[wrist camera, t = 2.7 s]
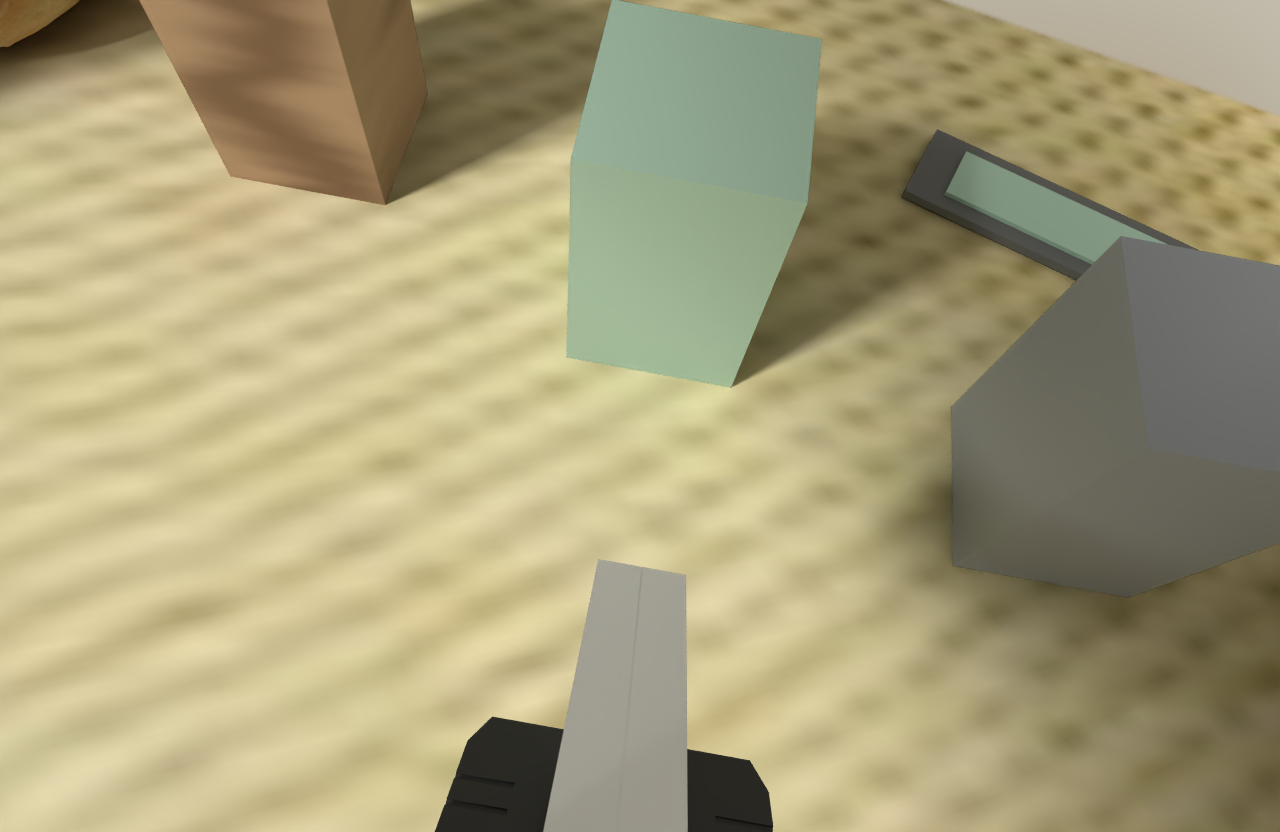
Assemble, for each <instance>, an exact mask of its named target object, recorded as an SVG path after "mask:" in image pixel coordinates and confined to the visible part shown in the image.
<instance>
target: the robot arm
mask: <svg viewBox="0 0 1280 832" xmlns="http://www.w3.org/2000/svg"><path fill="white" fill-rule="evenodd" d="M435 832H773V821H772V814H771V806H770V798H769V792H768V790H767V788H766V787H765V785H764V783H763V782H762V780H761V778H760V777H759V775H758V773H757V772H756V770H755V768H754V767H753V765H752V763H751V762H750V760H745V759H739V758H733V757H728V756H722V755H717V754H711V753H706V752H700V751H695V750H689V749H687V660H686V575H683V574H677V573H672V572H666V571H661V570H655V569H650V568H644V567H639V566H633V565H628V564H622V563H617V562H611V561H606V560H600V559H598V564H597V569H596V574H595V579H594V583H593V588H592V593H591V598H590V603H589V608H588V613H587V618H586V623H585V628H584V633H583V638H582V643H581V648H580V653H579V657H578V662H577V667H576V672H575V677H574V682H573V687H572V692H571V697H570V702H569V707H568V712H567V717H566V722H565V727H564V729H558V728H552V727H547V726H541V725H536V724H530V723H525V722H519V721H514V720H508V719H502V718H497V717H492V718H491V719H489V720H488V721H487V722H486V723H485V724H484V725H483V726H482V727H481V728H480V729H479V730H478V731H477V732H476V733H475V734H474V735H473V736H472V737H471V738H470V739H469V740H468V741H467V744H466V747H465V749H464V752H463V755H462V758H461V760H460V763H459V766H458V769H457V772H456V776H455V778H454V780H453V783H452V786H451V788H450V791H449V794H448V797H447V801H446V804H445V805H444V808H443V811H442V813H441V816H440V819H439V822H438V824H437V827H436V830H435Z"/></svg>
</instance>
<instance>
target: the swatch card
mask: <svg viewBox="0 0 1280 832" xmlns="http://www.w3.org/2000/svg"><path fill="white" fill-rule="evenodd" d="M901 197H903V198H905V199H907V200H909V201H911V202H913V203H916V204H918V205H920V206H922V207H924V208H926V209H928V210H930V211H932V212H934V213H936V214H939V215H941V216H943V217H945V218H947V219H949V220H951V221H953V222H955V223H957V224H960V225H962V226H964V227H966V228H968V229H970V230H972V231H974V232H976V233H978V234H981V235H983V236H985V237H987V238H989V239H991V240H993V241H995V242H997V243H999V244H1002V245H1004V246H1006V247H1008V248H1010V249H1012V250H1014V251H1016V252H1018V253H1020V254H1023V255H1025V256H1027V257H1029V258H1031V259H1033V260H1035V261H1037V262H1039V263H1041V264H1043V265H1046V266H1048V267H1050V268H1052V269H1054V270H1056V271H1058V272H1060V273H1062V274H1064V275H1067V276H1069V277H1071V278H1073V279H1075V280H1078V279H1079V278H1080V277H1081V276H1082V275H1083V274H1084V273H1085V272H1086V270H1087V269H1088V268H1089V267H1090V266H1091V265H1092V264H1093V263H1094V262H1095V261H1096V260H1097V259H1098V258H1099V257H1100V256H1101V255H1102V254H1103V253H1104V252H1105V251H1106V250H1107V249H1108V248H1109V247H1110V246H1111V245H1112V244H1113V243H1114V242H1115V241H1116V240H1117V239H1118V238H1119V237H1120V236H1125V237H1130V238H1135V239H1140V240H1146V241H1151V242H1156V243H1162V244H1167V245H1172V246H1178V247H1183V248H1188V249H1194V250H1198V249H1196V248H1193V247H1191V246H1189V245H1187V244H1185V243H1182V242H1180V241H1178V240H1176V239H1174V238H1172V237H1169V236H1167V235H1165V234H1163V233H1161V232H1159V231H1156V230H1154V229H1152V228H1150V227H1148V226H1146V225H1143V224H1141V223H1139V222H1137V221H1135V220H1133V219H1130V218H1128V217H1126V216H1124V215H1122V214H1120V213H1117V212H1115V211H1113V210H1111V209H1109V208H1107V207H1104V206H1102V205H1100V204H1098V203H1096V202H1094V201H1091V200H1089V199H1087V198H1085V197H1083V196H1081V195H1078V194H1076V193H1074V192H1072V191H1070V190H1068V189H1065V188H1063V187H1061V186H1059V185H1057V184H1055V183H1052V182H1050V181H1048V180H1046V179H1044V178H1042V177H1039V176H1037V175H1035V174H1033V173H1031V172H1029V171H1026V170H1024V169H1022V168H1020V167H1018V166H1016V165H1013V164H1011V163H1009V162H1007V161H1005V160H1003V159H1000V158H998V157H996V156H994V155H992V154H990V153H987V152H985V151H983V150H981V149H979V148H977V147H974V146H972V145H970V144H968V143H966V142H964V141H961V140H959V139H957V138H955V137H953V136H951V135H948V134H946V133H944V132H942V131H940V130H938V129H937V131H936V133H935V134H934V136H933V138H932V140H931V142H930V144H929V146H928V147H927V149H926V151H925V153H924V155H923V157H922V159H921V161H920V163H919V164H918V166H917V168H916V170H915V172H914V174H913V176H912V178H911V179H910V181H909V183H908V185H907V187H906V189H905V191H904V193H903V194H902V196H901ZM1199 251H1200V250H1199Z"/></svg>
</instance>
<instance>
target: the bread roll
mask: <svg viewBox="0 0 1280 832" xmlns="http://www.w3.org/2000/svg"><path fill="white" fill-rule="evenodd" d="M79 1H80V0H0V47H9V46H11V45H13V44H14V43H16V42H18V41H20V40H21V39H23V38H25V37H28V36H30V35H32V34H34V33H36V32H37V31H39V30H40V29H41V28H43V27H45V26H47V25H48V24H50V23H51V22H52V21H53V20H55V19H56V18H58V17H59V16H60V15H62V14H63V13H65V12H66V11H67V10H69V9H70V8H71V7H73V6H74V5H75V4H76V3H78V2H79Z"/></svg>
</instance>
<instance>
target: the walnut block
mask: <svg viewBox="0 0 1280 832" xmlns="http://www.w3.org/2000/svg"><path fill="white" fill-rule="evenodd" d="M139 1H140V2H141V4H142V6H143V8H144V10H145V12H146V14H147V16H148V18H149V20H150V22H151V24H152V26H153V28H154V29H155V31H156V33H157V35H158V37H159V39H160V41H161V43H162V45H163V47H164V49H165V51H166V53H167V55H168V56H169V58H170V60H171V62H172V64H173V66H174V68H175V70H176V72H177V74H178V76H179V78H180V80H181V82H182V83H183V85H184V87H185V89H186V91H187V93H188V95H189V97H190V99H191V101H192V103H193V105H194V107H195V109H196V110H197V112H198V114H199V116H200V118H201V120H202V122H203V124H204V126H205V128H206V130H207V132H208V134H209V136H210V137H211V139H212V141H213V143H214V145H215V147H216V149H217V151H218V153H219V155H220V157H221V159H222V161H223V163H224V164H225V166H226V168H227V170H228V172H229V174H230V176H232V177H237V178H242V179H248V180H253V181H258V182H264V183H269V184H275V185H280V186H285V187H291V188H296V189H301V190H307V191H312V192H317V193H323V194H328V195H334V196H339V197H344V198H350V199H355V200H360V201H366V202H371V203H376V204H382V205H385V204H386V202H387V199H388V196H389V194H390V191H391V189H392V186H393V183H394V181H395V178H396V175H397V173H398V170H399V167H400V165H401V162H402V160H403V157H404V154H405V152H406V149H407V146H408V144H409V141H410V138H411V136H412V133H413V131H414V128H415V125H416V123H417V120H418V117H419V115H420V112H421V109H422V107H423V104H424V102H425V99H426V96H427V89H426V83H425V78H424V72H423V67H422V61H421V56H420V50H419V45H418V39H417V34H416V28H415V23H414V17H413V12H412V6H411V1H410V0H139Z"/></svg>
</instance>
